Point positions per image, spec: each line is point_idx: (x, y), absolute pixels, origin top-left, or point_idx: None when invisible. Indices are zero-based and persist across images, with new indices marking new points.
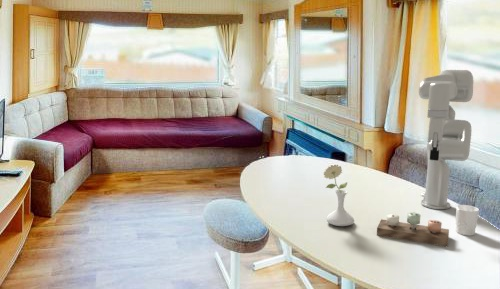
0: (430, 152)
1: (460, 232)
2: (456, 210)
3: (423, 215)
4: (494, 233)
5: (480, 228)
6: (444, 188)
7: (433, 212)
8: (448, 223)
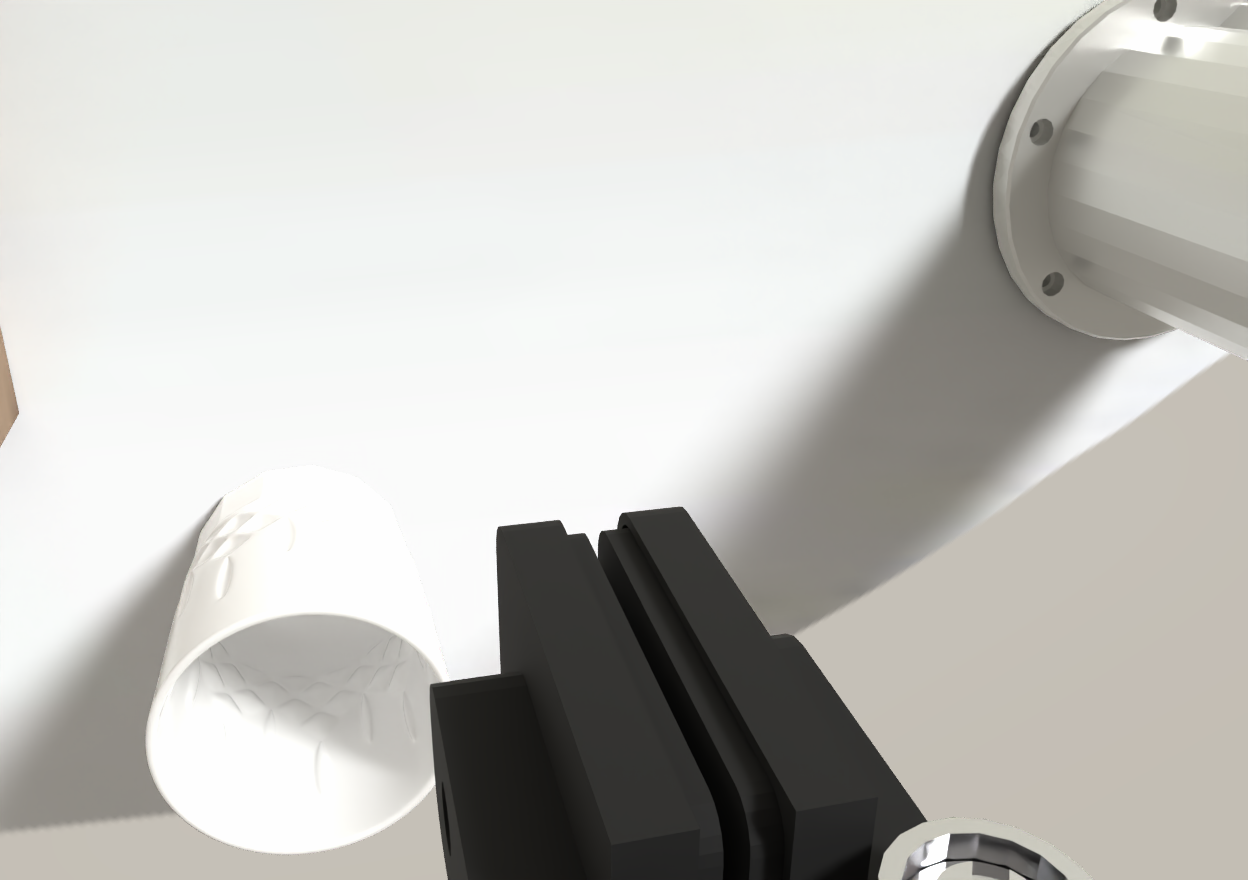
0: (579, 741)
1: (204, 528)
2: (253, 593)
3: (702, 48)
4: None
5: None
6: (1235, 338)
7: (868, 163)
8: (525, 366)
